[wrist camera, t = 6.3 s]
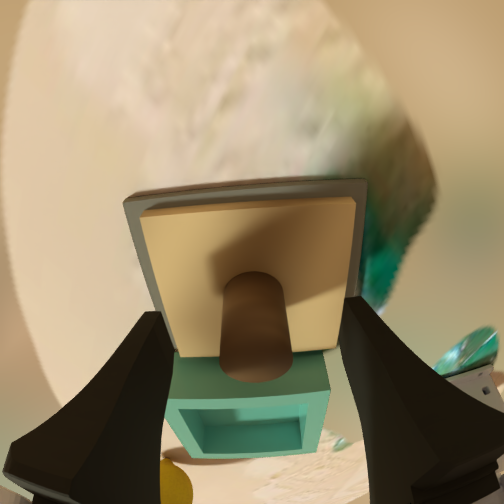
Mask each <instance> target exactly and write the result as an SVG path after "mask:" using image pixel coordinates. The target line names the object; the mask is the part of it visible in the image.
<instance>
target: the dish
mask: <svg viewBox="0 0 504 504" xmlns="http://www.w3.org/2000/svg"><path fill="white" fill-rule="evenodd" d="M292 354H293V363H292V366H291V368H290V369H289V370H288V371H287V372H286V373H285V374H284V375H282V376H281V377H279V378H276V379H274V380H271V381H267V382H260V383H249V382H242V381H239V380H236V379H233V378H231V377H229V376H228V375H226V374H225V373H224V372H223V371H222V369H221V367H220V365H219V357H180V354H179V352H174V365H173V375H172V380H171V385H170V391H169V396H168V401H167V406H166V411H165V416H164V417H165V419H166V420H167V422H168V423H169V425H170V427H171V428H172V430H173V431H174V433H175V434H176V436H177V437H178V439H179V440H180V442H181V443H182V445H183V446H184V447H185V449H186V450H187V452H188V453H189V455H190V456H191V457H192V458H211V459H230V458H260V457H275V456H287V455H297V454H306V453H315V452H316V451H317V447H318V443H319V439H320V435H321V431H322V427H323V423H324V418H325V414H326V409H327V405H328V401H329V396H330V391H331V389H330V384H329V379H328V375H327V370H326V366H325V361H324V356H323V352H322V350H312V351H302V352H292Z"/></svg>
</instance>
